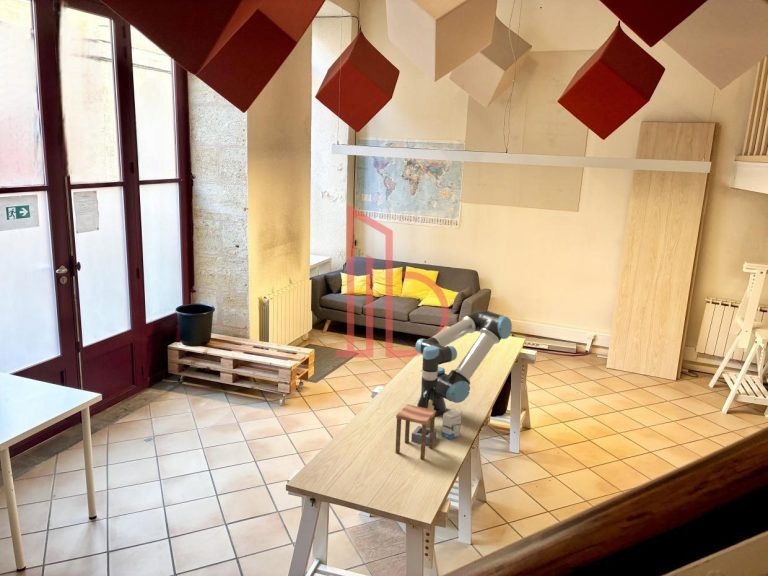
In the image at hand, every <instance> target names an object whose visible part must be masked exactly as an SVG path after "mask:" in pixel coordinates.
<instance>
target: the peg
mask: <svg viewBox="0 0 768 576" xmlns="http://www.w3.org/2000/svg"><path fill="white" fill-rule="evenodd" d="M428 409H431V410H432V400H429V404H428ZM426 428H430V421H429V422H428V423H427V426H426Z"/></svg>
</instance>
